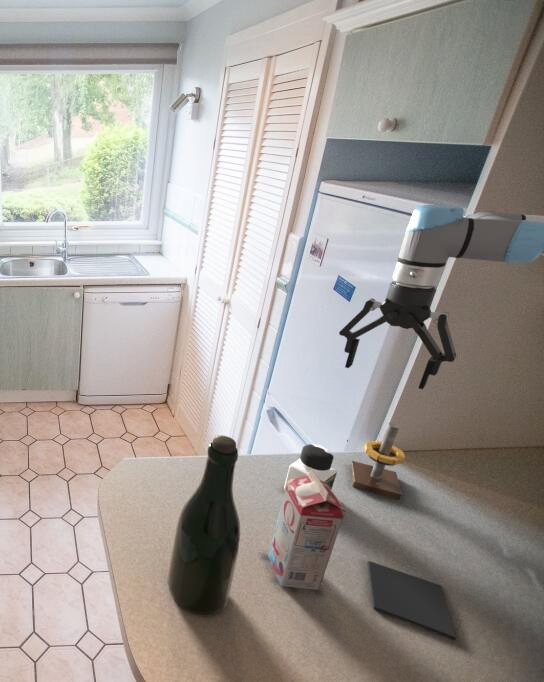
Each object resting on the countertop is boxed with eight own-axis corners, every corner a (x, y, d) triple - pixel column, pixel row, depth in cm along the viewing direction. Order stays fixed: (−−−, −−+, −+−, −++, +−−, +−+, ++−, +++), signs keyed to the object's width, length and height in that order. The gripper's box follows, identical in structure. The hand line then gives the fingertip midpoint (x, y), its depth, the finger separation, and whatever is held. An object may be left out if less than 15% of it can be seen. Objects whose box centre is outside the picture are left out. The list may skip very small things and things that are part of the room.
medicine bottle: (314, 507, 101) (327, 464, 96) (283, 489, 106) (294, 447, 102) (330, 495, 105) (343, 452, 100) (299, 478, 110) (310, 437, 105)
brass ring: (400, 450, 107) (401, 446, 106) (405, 468, 101) (406, 463, 100) (363, 441, 110) (364, 437, 110) (366, 458, 104) (367, 453, 104)
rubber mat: (440, 587, 82) (441, 585, 82) (455, 640, 74) (456, 637, 73) (367, 562, 88) (368, 560, 87) (373, 609, 79) (374, 606, 79)
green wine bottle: (221, 571, 86) (252, 424, 73) (233, 623, 77) (271, 465, 64) (164, 563, 88) (185, 418, 75) (169, 613, 78) (194, 457, 66)
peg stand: (394, 476, 110) (415, 421, 104) (399, 499, 103) (422, 441, 97) (350, 465, 114) (367, 411, 108) (352, 486, 107) (371, 429, 101)
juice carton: (280, 585, 83) (307, 491, 75) (268, 556, 89) (291, 465, 81) (319, 590, 82) (350, 495, 74) (303, 559, 88) (331, 468, 80)
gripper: (338, 275, 99) (316, 363, 107) (494, 301, 82) (453, 403, 90) (349, 270, 103) (327, 354, 112) (499, 292, 86) (460, 390, 94)
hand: (383, 376), depth 101 cm, fingers open, 13 cm apart
